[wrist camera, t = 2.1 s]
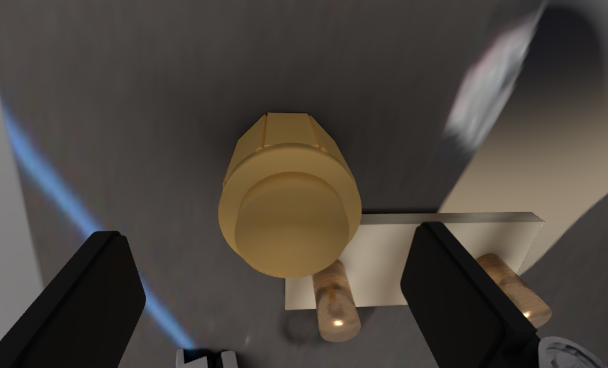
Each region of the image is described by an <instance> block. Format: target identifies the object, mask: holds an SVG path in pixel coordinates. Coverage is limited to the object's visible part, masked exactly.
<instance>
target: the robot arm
mask: <svg viewBox="0 0 608 368" xmlns="http://www.w3.org/2000/svg"><path fill="white" fill-rule="evenodd" d="M400 288H401V291H402V294H403V296H404V298H405V300H406V302H407V304H408V306H409V308H410V310H411V312H412V314H413V316H414V318H415V320H416V322H417V324H418V326H419V328H420V330H421V332H422V334H423V336H424V338H425V340H426V342H427V344H428V346H429V348H430V350H431V352H432V354H433V356H434V358H435V360H436V362H437V364H438V366H439V368H607V367H606V366H605V365H604V364H603V363H602V362H601V361H600V360H599V359H598V358H597V357H596V356H595V355H593V354H592V353H590V352H589V351H588V350H586V349H585V348H583V347H581V346H579V345H578V344H576V343H574V342H572V341H569V340H566V339H563V338H560V337H552V336H551V337H545V338H543V339H542V340H540V338H539V337H538V336H537V335H536V334H535V333H536V332H537V331H538V330H537V329H536V328H535V327H534V326H533V325H532V323H531V322H530V321H529V320H528V319H527V318H526V317H525V316H524V314H523V313H522V312H521V311H520V310H519V309H518V308H517V306H516V305H515V304H514V303H513V302H512V301H511V300H510V299H509V297H508V296H507V295H506V294H505V293H504V292H503V291H502V289H501V288H500V287H499V286H498V285H497V284H496V283H495V281H494V280H493V279H492V278H491V277H490V276H489V275H488V274H487V272H486V271H485V270H484V269H483V268H482V267H481V266H480V264H479V263H478V262H477V261H476V260H475V259H474V258H473V257H472V255H471V254H470V253H469V252H468V251H467V250H466V249H465V247H464V246H463V245H462V244H461V243H460V242H459V241H458V240H457V238H456V237H455V236H454V235H453V234H452V233H451V232H450V230H449V229H448V228H447V227H446V226H445V225H444V224H443V223H442V222H440V221H429V222H422V223H421V225H420V226H417V227H416V230H415V233H414V236H413V240H412V243H411V246H410V250H409V253H408V257H407V260H406V263H405V267H404V270H403V274H402V277H401V280H400ZM145 302H146V295H145V292H144V289H143V286H142V283H141V280H140V277H139V274H138V271H137V268H136V265H135V262H134V259H133V256H132V253H131V250H130V247H129V244H128V241H127V238H126V237H125V236H123V235H121V234H120V233H119V232H118V231H96V232H94V233H93V234H91V236H90V237H89V238H88V239H87V240H86V241H85V243H84V244H83V245H82V246H81V247H80V248H79V250H78V251H77V252H76V253H75V254H74V255H73V257H72V258H71V259H70V260H69V261H68V262H67V264H66V265H65V266H64V267H63V268H62V269H61V271H60V272H59V273H58V274H57V275H56V276H55V278H54V279H53V280H52V281H51V282H50V283H49V285H48V286H47V287H46V288H45V289H44V290H43V292H42V293H41V294H40V295H39V296H38V297H37V299H36V300H35V301H34V302H33V303H32V304H31V306H30V307H29V308H28V309H27V310H26V311H25V313H24V314H23V315H22V316H21V317H20V319H19V320H18V321H17V322H16V323H15V325H14V326H13V327H12V328H11V329H10V330H9V331H8V332H7V334H6V335H5V336H4V337H3V338H2V339H1V341H0V368H117V367H118V365H119V363H120V360H121V358H122V356H123V354H124V351H125V349H126V347H127V345H128V343H129V340H130V338H131V336H132V334H133V331H134V329H135V327H136V325H137V322H138V320H139V318H140V316H141V313H142V311H143V309H144V306H145Z"/></svg>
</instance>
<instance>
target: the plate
mask: <svg viewBox="0 0 608 368" xmlns="http://www.w3.org/2000/svg"><path fill="white" fill-rule="evenodd" d="M429 221H440V222H442V223H443V224H444V225H445V226H446V227H447V228H448V229H449V230H450V232H451V233H452V234H453V235H454V236H455V237H456V238H457V240H458V241H459V242H460V243H461V244H462V245H463V246H464V247H465V249H466V250H467V251H468V252H469V253H470V254H471V255H472V257H473V258H474V259H477V258H478V257H480V256H482V255H485V254H497V255H498V256H499V257H500V258H501V259H502V260H503V261H504V262H505V263H506V264H507V265H508V266H509V267H510V268H511V269H512V270H513V271H514V272H515V273H516V274H517V272H518V270H519V268H520V267H521V265H522V263H523V261H524V259H525V258H526V256H527V254H528V252H529V250H530V248H531V247H532V245H533V243H534V241H535V239H536V238H537V236H538V234H539V232H540V230H541V229H542V227H543V225H544V223H545V221H543V220H542V219H540V218H539V217H538V216H536V215H535V214H534V213H532V212H506V213H505V212H503V213H424V214H361V220H360V224H359V227H358V229H357V232H356V234H355V235H354V237H353V239H352V240H351V241H350V243H349V244H348V245H347V246H346V247H345V249H344V251H343V252H342V254H341V255H340V256H339V257H338V258H337V259H338V260H340V261H341V262H342V263H343V265H344V267H345V271H346V274H347V278H348V281H349V285H350V288H351V292H352V295H353V299H354V302H355V306H356V307H362V306H384V305H407V302H406V300H405V298H404V296H403V294H402V291H401V288H400V280H401V277H402V274H403V270H404V267H405V263H406V260H407V257H408V253H409V250H410V246H411V243H412V240H413V236H414V233H415V230H416V227H417V226H420V225H421V223H422V222H429ZM295 309H316V302H315V295H314V288H313V281H312V275H308V276H304V277H299V278H285V310H295Z"/></svg>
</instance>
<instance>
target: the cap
mask: <svg viewBox="0 0 608 368" xmlns="http://www.w3.org/2000/svg"><path fill="white" fill-rule="evenodd" d="M361 213H362V206H361V199H360V195H359V192H358V190H357V187H356V182H355V179H354V177H353V175H352V173H351V171H350V169H349V168H348V166H347V164H346V162H345V160H344V158H343V156H342V154H341V152H340V150H339V148H338V146H337V145H336V143H335V141H334V140H333V139H332V138H331V137H330V136H329V135H328V133H327V132H326V131H325V130H324V129H323V128H322V127H321V126H320V125H319V124H318V123H317V122H316V120H315V119H314V118H313V117H312V116H311V115H310V116H309V117H308V114H306V113H268V116H266V115H265V114H264V115H263V116H262V117H261V118H260V119H259V120H258V121H257V122H256V123H255V124H254V125H253V126H252V127H251V128H250V129H249V130H248V131H247V132H246V133H245V134H244V135H243V136H242V137H241V138H240V139H239V140H238V142H237V145H236V148H235V150H234V153H233V156H232V159H231V162H230V165H229V167H228V170H227V173H226V176H225V179H224V182H223V192H222V195H221V199H220V202H219V209H218V220H219V225H220V228H221V231H222V234H223V236H224V238H225V239H226V241H227V243H228V244H229V245H230V246H231V248H232V249H233V250H234V251H235V252H236V253H237V254H239V255H240V256H241V257H242V258H243V259H244V260H245V261H246V262H247V263H248V264H249V265H250V266H252V267H253V268H254V269H256V270H258V271H260V272H262V273H264V274H267V275H270V276H274V277H280V278H299V277H304V276H308V275H312V274H315V273H317V272H319V271H321V270H323V269H325V268H327V267H328V266H330V265H331V264H332V263H333V262H335V261H336V260H337V258H338V257H339V256H340V255H341V254H342V252H343V251H344V249H345V247H346V246H347V245H348V244H349V243H350V241H351V240H352V239H353V237H354V235H355V234H356V232H357V229H358V227H359V224H360V220H361Z"/></svg>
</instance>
